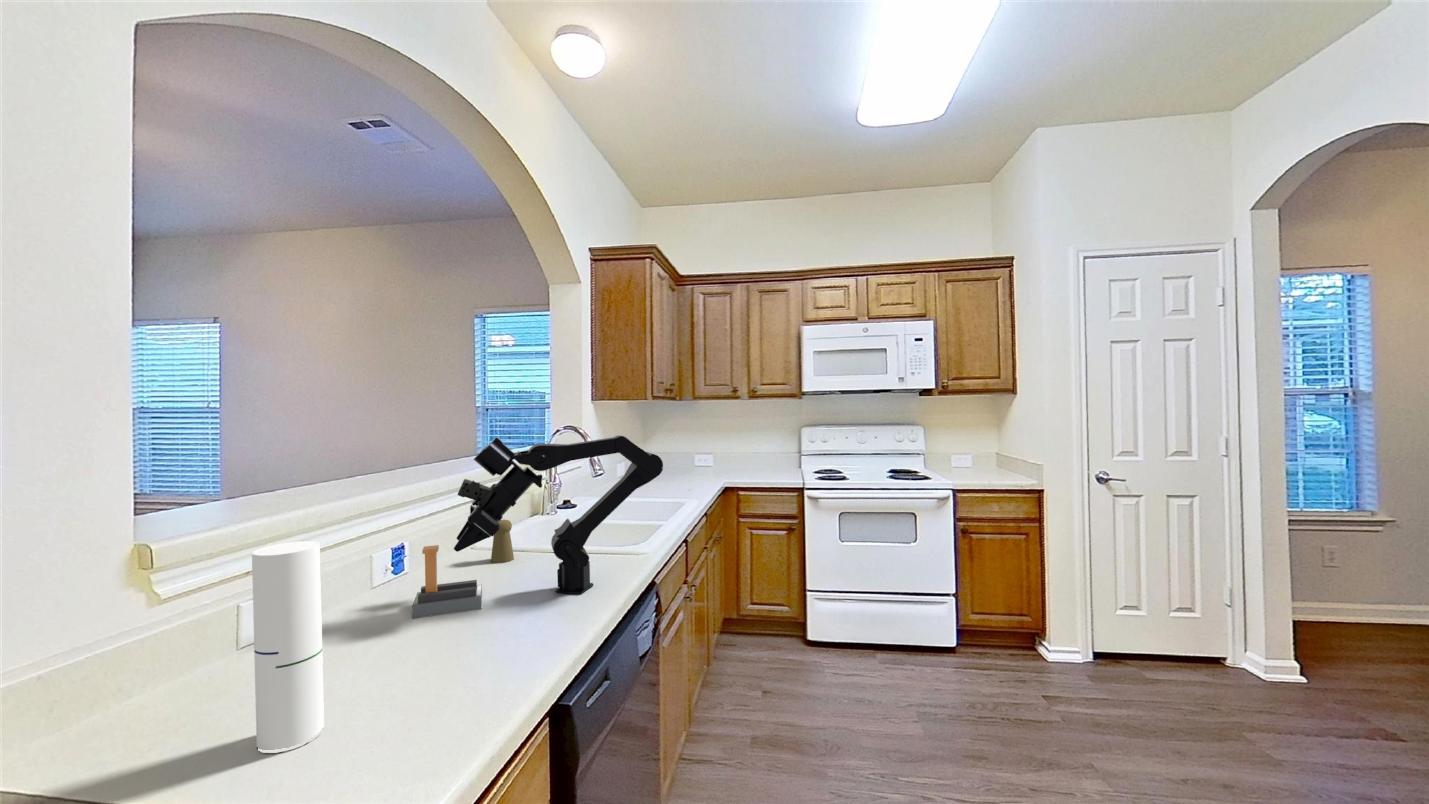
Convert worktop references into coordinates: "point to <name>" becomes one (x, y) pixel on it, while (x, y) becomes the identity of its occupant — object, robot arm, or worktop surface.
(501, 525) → the cork
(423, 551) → the handle
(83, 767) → the worktop surface
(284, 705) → the cylindrical container
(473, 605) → the grey slotted base
